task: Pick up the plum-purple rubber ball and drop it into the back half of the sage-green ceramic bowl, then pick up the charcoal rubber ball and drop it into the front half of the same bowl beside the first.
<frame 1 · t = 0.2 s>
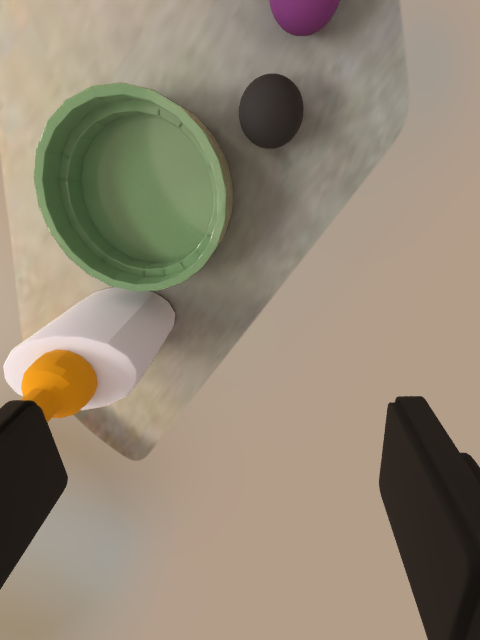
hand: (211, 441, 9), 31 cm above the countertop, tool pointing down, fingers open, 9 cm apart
soap bottle: (125, 316, 43), on the countertop
charcoal ball: (271, 116, 33), on the countertop
green bowl: (150, 194, 37), on the countertop
purple ball: (302, 4, 29), on the countertop
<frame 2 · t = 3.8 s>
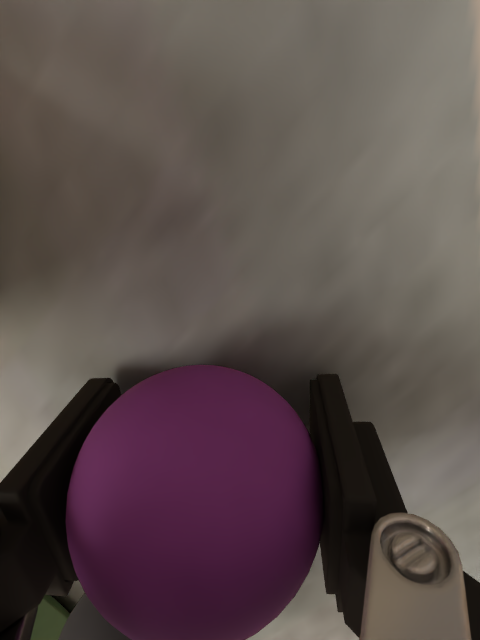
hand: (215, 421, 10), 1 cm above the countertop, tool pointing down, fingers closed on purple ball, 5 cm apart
charcoal ball: (166, 567, 14), on the countertop
purple ball: (218, 408, 11), on the countertop, touching gripper
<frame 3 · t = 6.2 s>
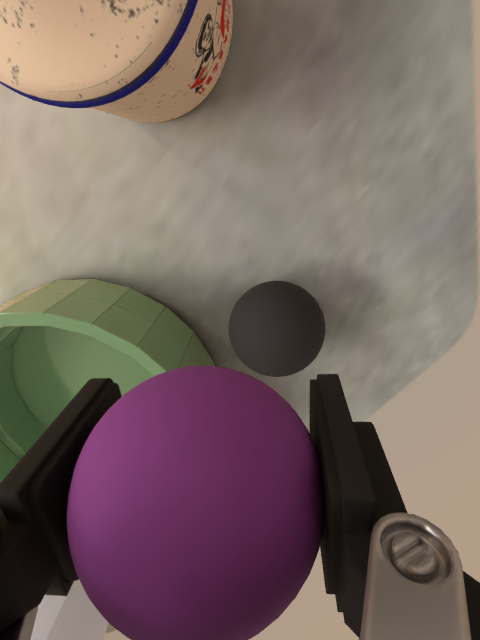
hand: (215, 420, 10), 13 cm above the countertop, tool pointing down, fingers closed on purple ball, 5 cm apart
soap bottle: (83, 503, 33), on the countertop
charcoal ball: (276, 309, 23), on the countertop
green bowl: (109, 384, 27), on the countertop
purple ball: (218, 409, 11), point 13 cm above the countertop, touching gripper
when the fingers open (6 cm above the countertop, at t = 9.0 s): purple ball drops 5 cm, resting on green bowl.
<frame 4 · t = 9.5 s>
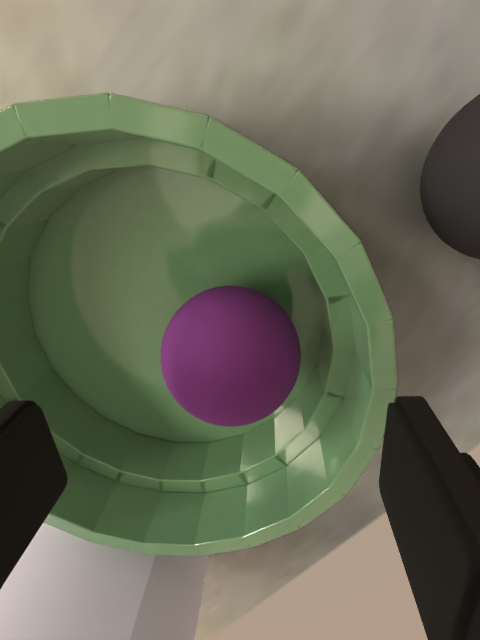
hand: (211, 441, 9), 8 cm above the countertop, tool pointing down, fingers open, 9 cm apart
soap bottle: (123, 509, 24), on the countertop
charcoal ball: (472, 173, 14), on the countertop
green bowl: (175, 322, 17), on the countertop
purple ball: (237, 325, 17), point 1 cm above the countertop, touching green bowl
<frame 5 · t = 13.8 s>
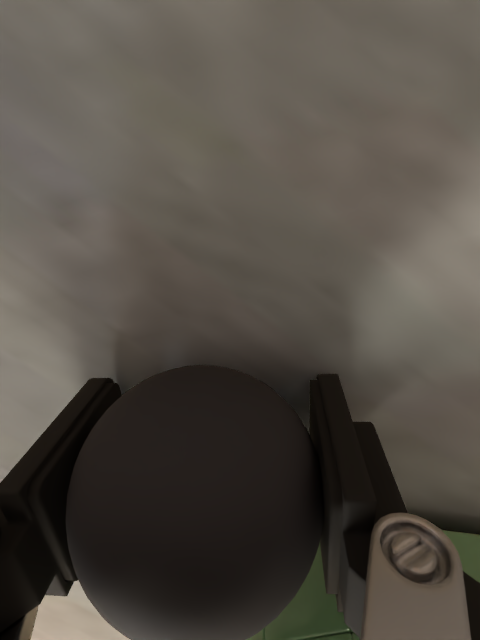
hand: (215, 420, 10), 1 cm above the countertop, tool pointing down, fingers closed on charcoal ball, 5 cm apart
charcoal ball: (218, 409, 11), on the countertop, touching gripper
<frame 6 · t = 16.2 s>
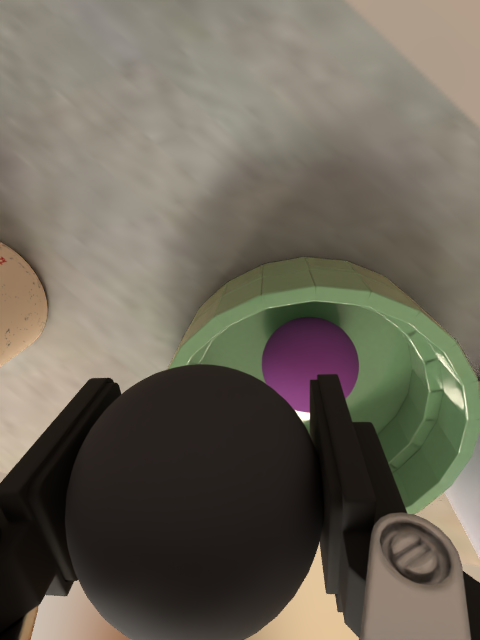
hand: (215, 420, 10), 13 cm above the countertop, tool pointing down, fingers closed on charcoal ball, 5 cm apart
charcoal ball: (218, 408, 11), point 13 cm above the countertop, touching gripper
green bowl: (302, 376, 25), on the countertop
purple ball: (303, 340, 23), point 1 cm above the countertop, touching green bowl
when the fingers open (6 cm above the countertop, at t = 18.9 s): charcoal ball drops 5 cm, resting on green bowl.
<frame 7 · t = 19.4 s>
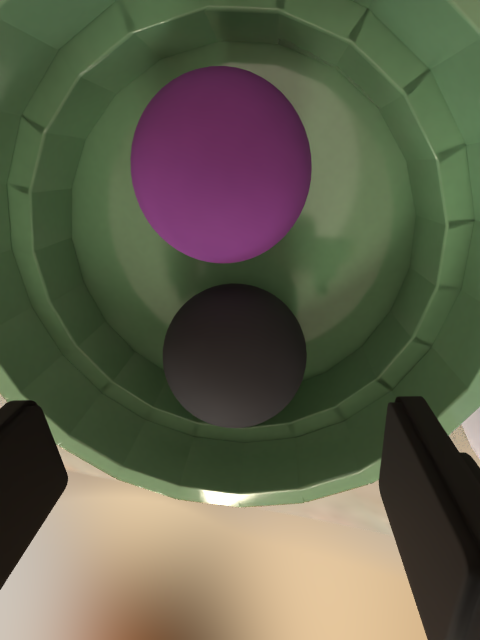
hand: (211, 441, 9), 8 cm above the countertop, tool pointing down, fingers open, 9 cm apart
charcoal ball: (241, 324, 16), point 1 cm above the countertop, touching green bowl
green bowl: (237, 248, 15), on the countertop
purple ball: (229, 170, 14), point 1 cm above the countertop, touching green bowl
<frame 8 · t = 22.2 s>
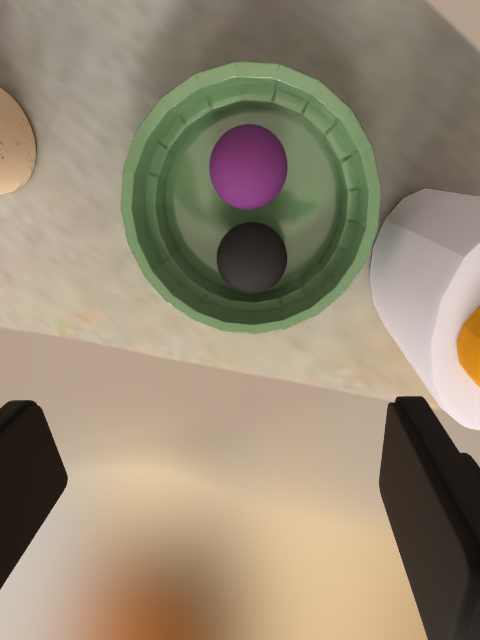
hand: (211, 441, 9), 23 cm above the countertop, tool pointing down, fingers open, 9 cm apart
soap bottle: (416, 267, 30), on the countertop
charcoal ball: (253, 250, 30), point 1 cm above the countertop, touching green bowl
green bowl: (251, 208, 29), on the countertop
purple ball: (248, 166, 27), point 1 cm above the countertop, touching green bowl
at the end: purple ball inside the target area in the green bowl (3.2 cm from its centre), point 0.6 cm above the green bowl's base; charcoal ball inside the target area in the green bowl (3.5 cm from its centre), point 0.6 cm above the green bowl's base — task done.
